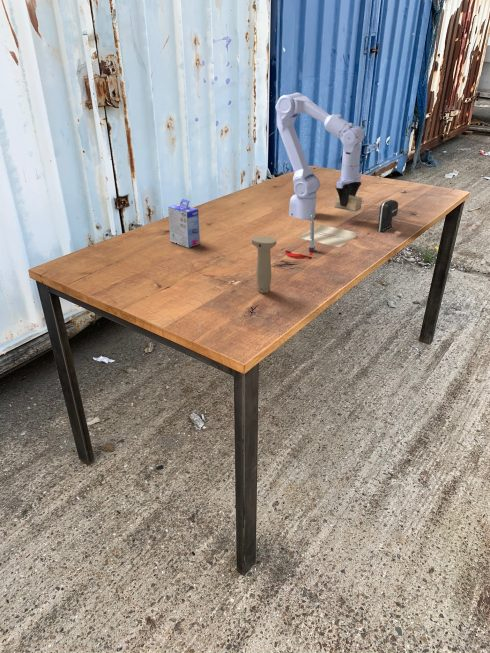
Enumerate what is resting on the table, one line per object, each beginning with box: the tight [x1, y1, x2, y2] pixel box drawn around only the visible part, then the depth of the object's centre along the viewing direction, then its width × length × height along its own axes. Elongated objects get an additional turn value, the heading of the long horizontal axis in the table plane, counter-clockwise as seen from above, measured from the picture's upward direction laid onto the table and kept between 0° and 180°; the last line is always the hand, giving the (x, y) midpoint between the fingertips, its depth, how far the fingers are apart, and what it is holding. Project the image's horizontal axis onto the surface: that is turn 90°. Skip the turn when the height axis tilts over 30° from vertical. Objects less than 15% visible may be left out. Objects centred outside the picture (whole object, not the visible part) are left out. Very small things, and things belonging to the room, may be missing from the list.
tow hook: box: [285, 215, 316, 259], centre depth 158 cm, size 8×13×9 cm
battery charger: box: [377, 199, 399, 234], centre depth 173 cm, size 7×4×11 cm, turn 137°
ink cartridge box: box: [167, 198, 201, 249], centre depth 168 cm, size 10×6×14 cm, turn 47°
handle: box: [251, 235, 277, 294], centre depth 135 cm, size 5×6×15 cm
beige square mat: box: [296, 224, 361, 248], centre depth 172 cm, size 16×16×1 cm
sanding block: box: [334, 195, 363, 213], centre depth 178 cm, size 8×4×4 cm, turn 53°
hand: (346, 204), depth 178 cm, fingers closed on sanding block, 4 cm apart
